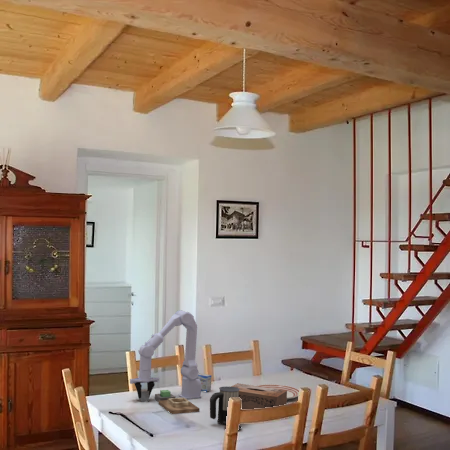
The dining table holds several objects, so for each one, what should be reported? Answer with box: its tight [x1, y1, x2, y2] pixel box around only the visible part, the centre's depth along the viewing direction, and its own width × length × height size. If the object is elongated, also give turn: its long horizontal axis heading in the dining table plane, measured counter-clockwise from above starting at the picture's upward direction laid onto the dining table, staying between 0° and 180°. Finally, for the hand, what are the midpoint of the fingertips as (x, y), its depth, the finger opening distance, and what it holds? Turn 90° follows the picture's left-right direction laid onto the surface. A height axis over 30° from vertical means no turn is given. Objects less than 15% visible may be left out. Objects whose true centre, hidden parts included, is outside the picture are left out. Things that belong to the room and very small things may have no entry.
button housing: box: [154, 393, 177, 403], centre depth 287 cm, size 8×8×2 cm
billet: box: [138, 388, 150, 403], centre depth 286 cm, size 4×4×5 cm
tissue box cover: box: [230, 382, 288, 409], centre depth 277 cm, size 26×14×10 cm, turn 65°
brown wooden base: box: [158, 397, 200, 415], centre depth 275 cm, size 14×18×4 cm
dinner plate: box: [256, 383, 300, 401], centre depth 306 cm, size 27×27×3 cm
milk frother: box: [209, 386, 242, 429], centre depth 251 cm, size 14×16×15 cm
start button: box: [159, 389, 172, 397], centre depth 287 cm, size 4×4×2 cm
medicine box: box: [196, 373, 213, 393], centre depth 311 cm, size 8×4×9 cm, turn 62°
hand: (143, 397), depth 286 cm, fingers closed on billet, 4 cm apart
